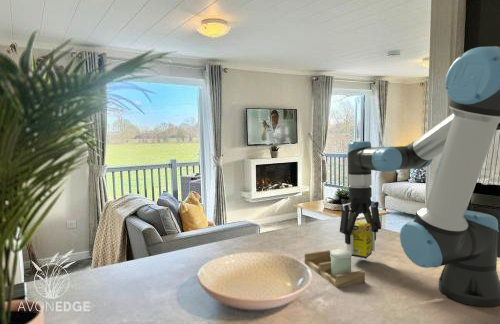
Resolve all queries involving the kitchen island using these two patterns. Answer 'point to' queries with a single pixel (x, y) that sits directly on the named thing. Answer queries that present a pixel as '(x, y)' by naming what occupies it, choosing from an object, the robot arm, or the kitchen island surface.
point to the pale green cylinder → (340, 262)
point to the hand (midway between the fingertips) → (360, 251)
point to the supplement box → (362, 239)
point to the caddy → (323, 267)
